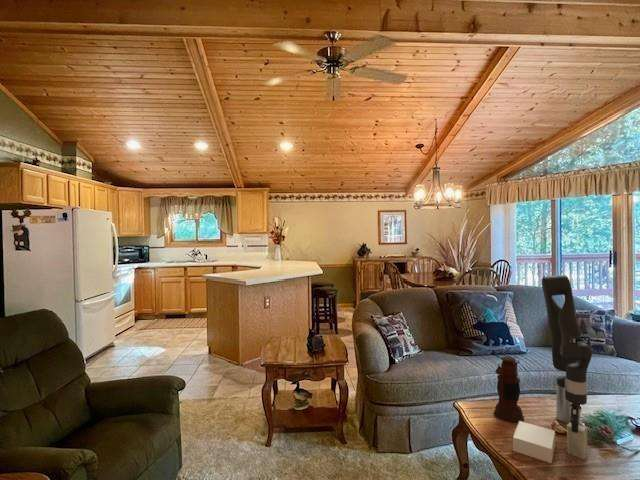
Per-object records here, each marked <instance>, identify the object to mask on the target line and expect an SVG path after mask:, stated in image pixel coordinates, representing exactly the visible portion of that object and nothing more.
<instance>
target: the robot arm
mask: <svg viewBox="0 0 640 480" xmlns="http://www.w3.org/2000/svg"><path fill="white" fill-rule="evenodd" d="M571 284H572V283H571V281H570V279H569V277H568V276H567V275H566V274H560V275H559V274H557V275H548V276H543V277H542V278H541V286H542V292H543V295H544V301H545V307H546V314H547V323H548V330H549V335H550V342H551V358H552V366H553V368H554V369H555V370H557V371H560V372H564V373H565V375H561V376H557V378H556V381H555V383H556V385H555V386H556V395H555V396H556V416H555V417H556V419H557V420H558V421H560V422H561V423H565V424H568V423H570V422H571V423H572V427H571V431H572V432H574V433H578V425H580V420H581V413H582V407H583V405H586V404H587V402H588V401H587V400H588V383H587V373H588V372H587V371H588V369H589V365H590V363H591V360H592V356H593V351H592V348H591V346H589V344H587V343H584V342H573V341H572V342H571V340H577V339H579V338H580V337H582V336H581V335H582V332H581V329H580V325H579V322H578V319H577V315H576V307H575V301H574V295H573V291H572V285H571ZM562 295H563V296H564V303H563V304H562V307H560V306H559V305H558V303H557V302H556V301H555V300H554V298H553V296H562Z"/></svg>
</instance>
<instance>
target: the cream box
mask: <svg viewBox="0 0 640 480" xmlns="http://www.w3.org/2000/svg"><path fill="white" fill-rule="evenodd" d="M512 436H513V437H512V451H513V452H515V453H519V454H521V455H525V456H527V457H531V458H534V459H537V460H540V461H543V462H546V461H547V462H546V463H549V464H552V463H553V462H552V461H553V456H554V453H553V452H555V447H556V430H553V429H549V428H546V427H542V426H539V425H536V424H532V423H529V422H524V421H523V422H522V421H519V423H517V426H516V429H515V431H514V434H513V435H512Z"/></svg>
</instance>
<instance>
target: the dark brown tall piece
mask: <svg viewBox="0 0 640 480" xmlns="http://www.w3.org/2000/svg"><path fill="white" fill-rule="evenodd" d="M500 359H501V363H498V364H497V368H496V370H495V373H496V374H497V375H496V376H497V377H496V378H497V384H496V389H497V394H498V402H497V403H496V405H495V407H494V410H493V415H494V417H495V418H497V420H500V421H503V422H504V423H509V424H518V423H519V421H522V422H524V421H525V416H524V415H523V410H522V407H521V406H520V405H519V404H518V402H519V399H520V394H521V386H520V383H521V380H520V378H519V377H518V375H519V372H518V364H519V363H520V358H519V357H517V356H514V357H511V356H502V357H501V358H500ZM517 359H518V361H517Z"/></svg>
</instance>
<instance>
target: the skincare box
mask: <svg viewBox="0 0 640 480" xmlns="http://www.w3.org/2000/svg"><path fill="white" fill-rule="evenodd" d="M571 427H572V423H571V422H570V423H566V437H567V438H566V441H567V442H566V445H567V447H566V448H567V454H569V455H572V456H574V457H577V458H579V459H582V460H585V459H586V458H587V457H588V429H587V426H584V425H582V424H581V425H580V424H578V433H574V432H572V431H571Z"/></svg>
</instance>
